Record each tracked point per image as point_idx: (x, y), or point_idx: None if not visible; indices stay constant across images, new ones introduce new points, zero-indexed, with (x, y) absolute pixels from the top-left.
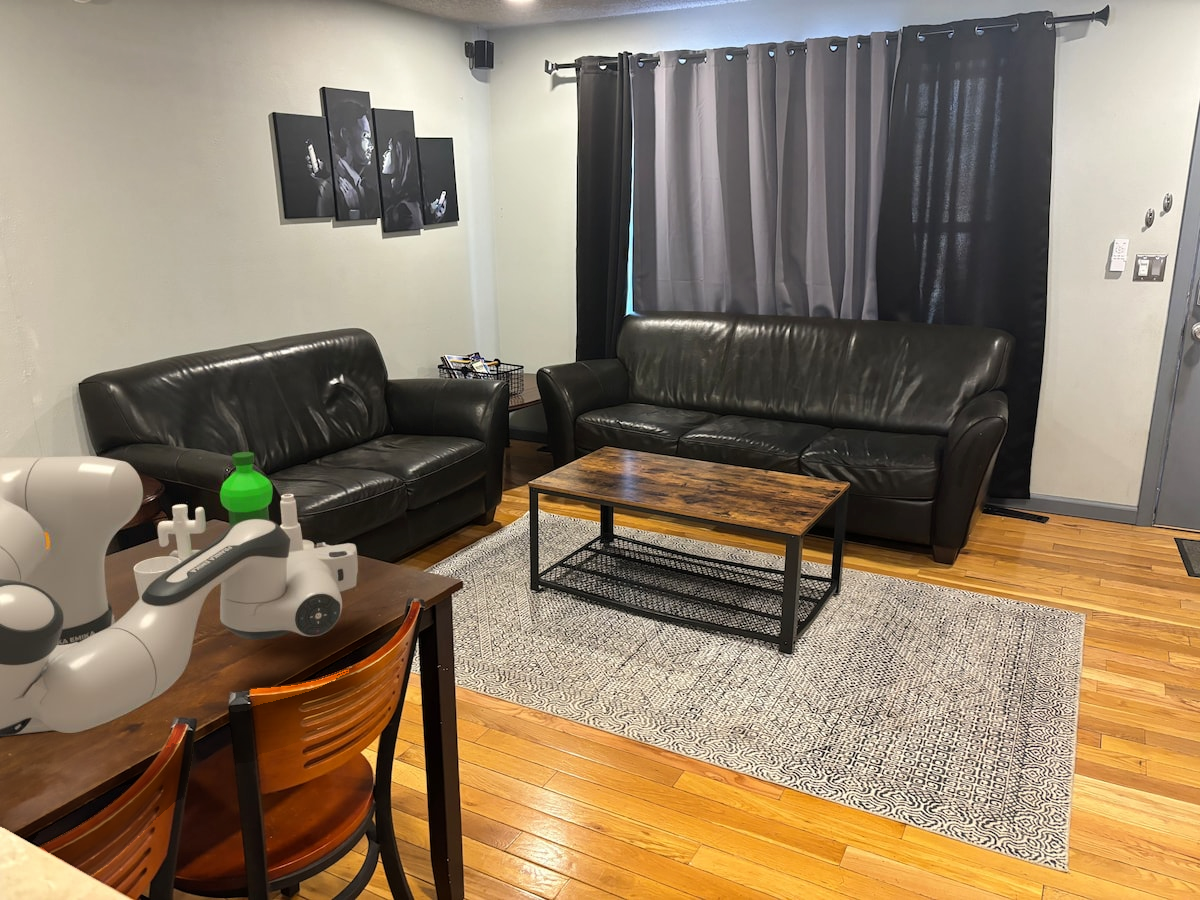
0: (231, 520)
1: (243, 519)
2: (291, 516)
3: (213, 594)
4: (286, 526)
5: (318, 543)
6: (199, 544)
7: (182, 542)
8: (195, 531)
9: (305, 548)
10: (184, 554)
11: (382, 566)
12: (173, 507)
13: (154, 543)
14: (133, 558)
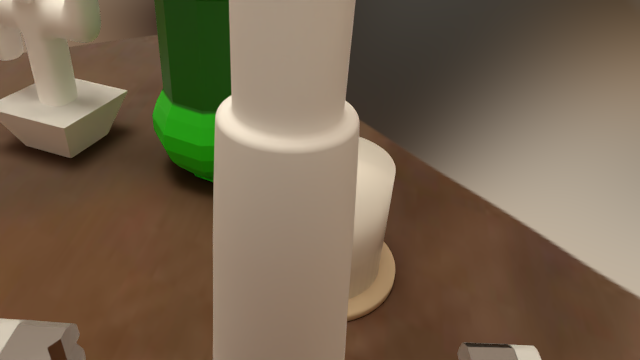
0: (159, 20)
1: (186, 23)
2: (301, 48)
3: (53, 255)
4: (253, 123)
5: (482, 353)
6: (155, 66)
7: (38, 59)
8: (65, 34)
9: (362, 187)
10: (47, 94)
11: (593, 279)
12: None
13: (84, 45)
14: (15, 70)
